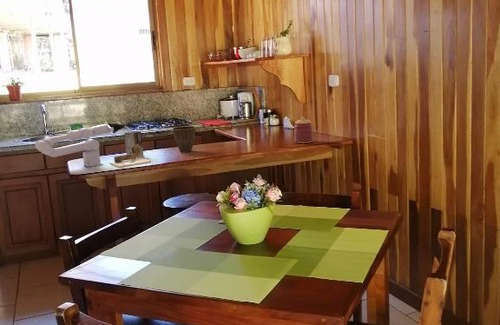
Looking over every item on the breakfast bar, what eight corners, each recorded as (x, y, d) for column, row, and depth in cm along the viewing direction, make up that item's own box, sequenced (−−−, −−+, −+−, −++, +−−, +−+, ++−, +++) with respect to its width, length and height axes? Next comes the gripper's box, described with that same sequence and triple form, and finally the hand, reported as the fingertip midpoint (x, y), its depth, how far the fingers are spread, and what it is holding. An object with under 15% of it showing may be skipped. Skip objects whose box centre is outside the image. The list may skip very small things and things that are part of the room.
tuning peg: (116, 162, 309) (115, 157, 309) (113, 161, 313) (113, 156, 312) (136, 159, 316) (136, 153, 316) (134, 158, 320) (133, 153, 319)
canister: (313, 140, 359) (312, 115, 355) (313, 143, 346) (312, 117, 342) (294, 141, 360) (293, 116, 356) (294, 144, 347) (293, 118, 344)
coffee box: (137, 155, 338) (135, 130, 335) (143, 155, 334) (141, 131, 331) (126, 157, 331) (123, 132, 328) (132, 158, 327) (130, 133, 324)
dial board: (118, 167, 301) (118, 165, 300) (110, 163, 314) (109, 161, 314) (150, 162, 311) (150, 160, 311) (141, 158, 324) (140, 156, 324)
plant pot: (201, 150, 341) (199, 126, 338) (182, 154, 332) (180, 129, 329) (188, 148, 353) (187, 125, 349) (170, 152, 343) (168, 128, 340)
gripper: (102, 124, 306) (123, 120, 312) (94, 122, 317) (115, 118, 324) (104, 136, 307) (126, 131, 314) (97, 133, 319) (117, 129, 326)
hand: (121, 125), depth 319 cm, fingers open, 7 cm apart
